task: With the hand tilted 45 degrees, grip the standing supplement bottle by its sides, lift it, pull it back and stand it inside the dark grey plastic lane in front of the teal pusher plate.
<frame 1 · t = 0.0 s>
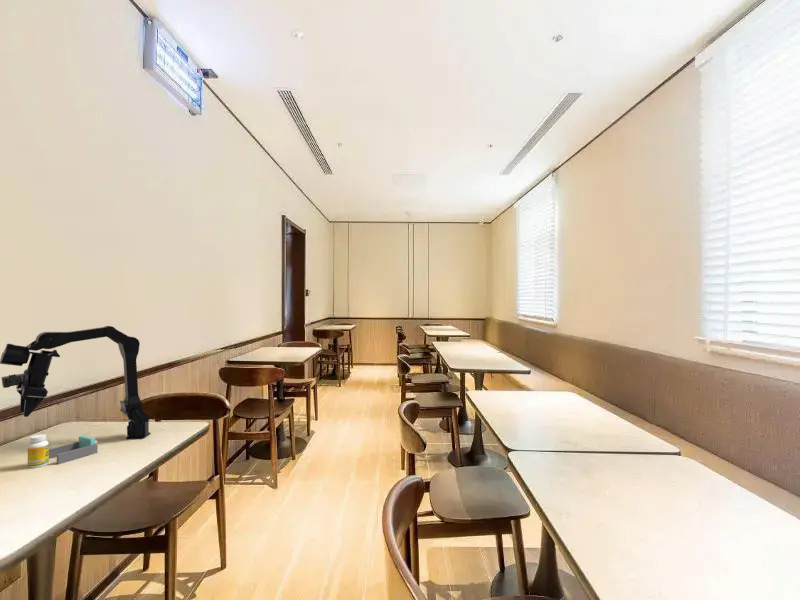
hand: (23, 414, 148), 15 cm above the table, tool pointing down, fingers open, 9 cm apart
supplement bottle: (38, 466, 144), on the table
lane: (70, 456, 152), on the table
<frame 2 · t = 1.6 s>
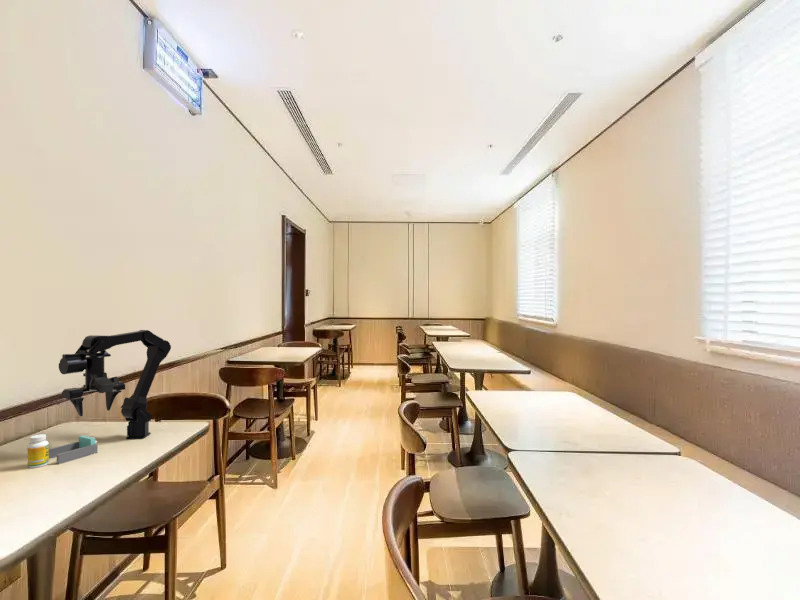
hand: (95, 413, 159), 13 cm above the table, tool pointing down, fingers open, 9 cm apart
nothing on the table moved.
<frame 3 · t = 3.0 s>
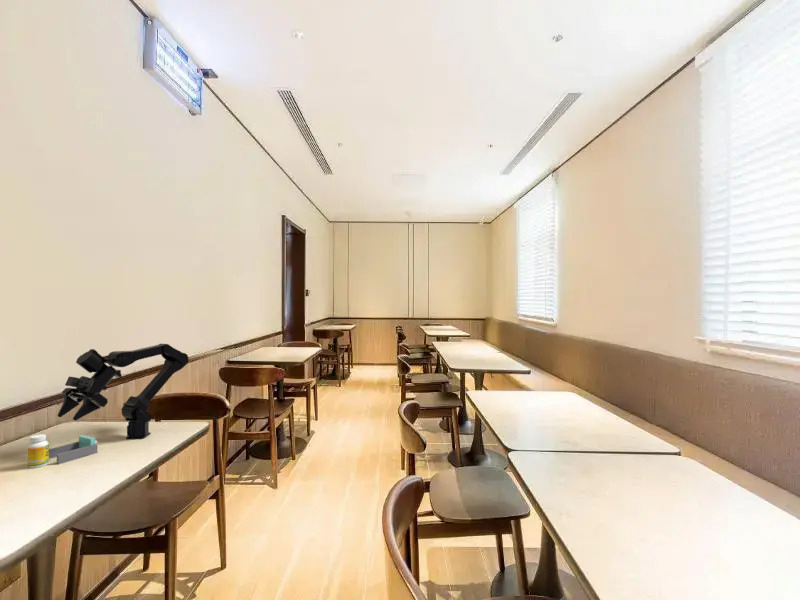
hand: (66, 418, 151), 13 cm above the table, tool tilted 45°, fingers open, 9 cm apart
nothing on the table moved.
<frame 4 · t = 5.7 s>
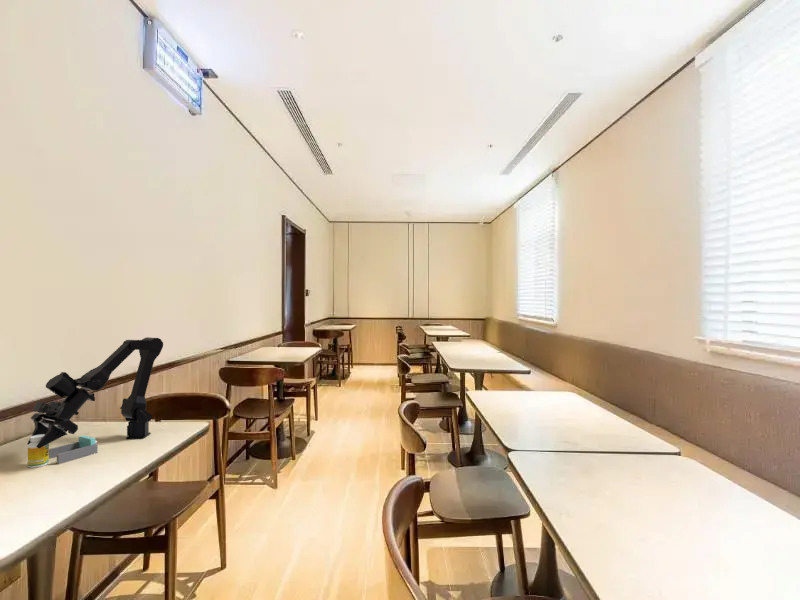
hand: (33, 446, 142), 7 cm above the table, tool tilted 45°, fingers closed on supplement bottle, 5 cm apart
supplement bottle: (38, 465, 144), on the table, touching gripper
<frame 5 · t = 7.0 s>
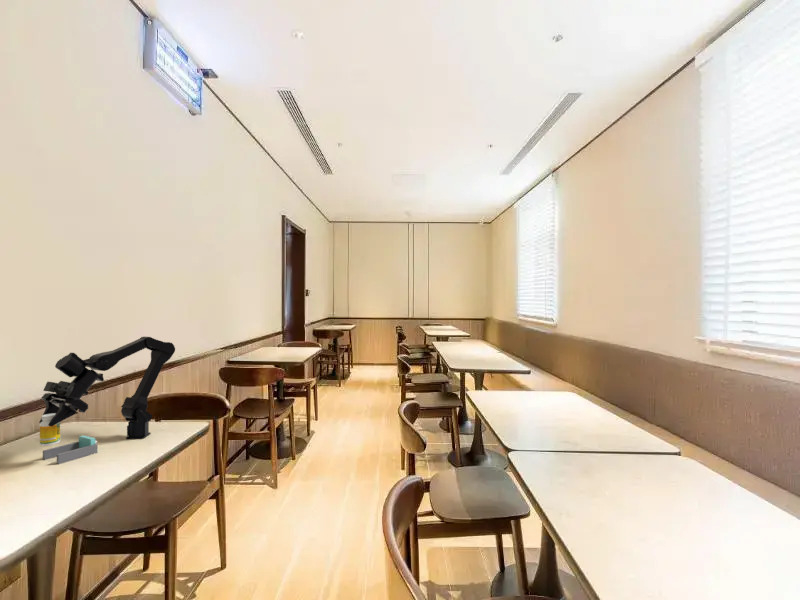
hand: (45, 424, 145), 13 cm above the table, tool tilted 45°, fingers closed on supplement bottle, 5 cm apart
supplement bottle: (50, 443, 147), point 6 cm above the table, touching gripper
when the fingers open (8 cm above the table, at t = 8.7 s): supplement bottle drops 1 cm, resting in lane.
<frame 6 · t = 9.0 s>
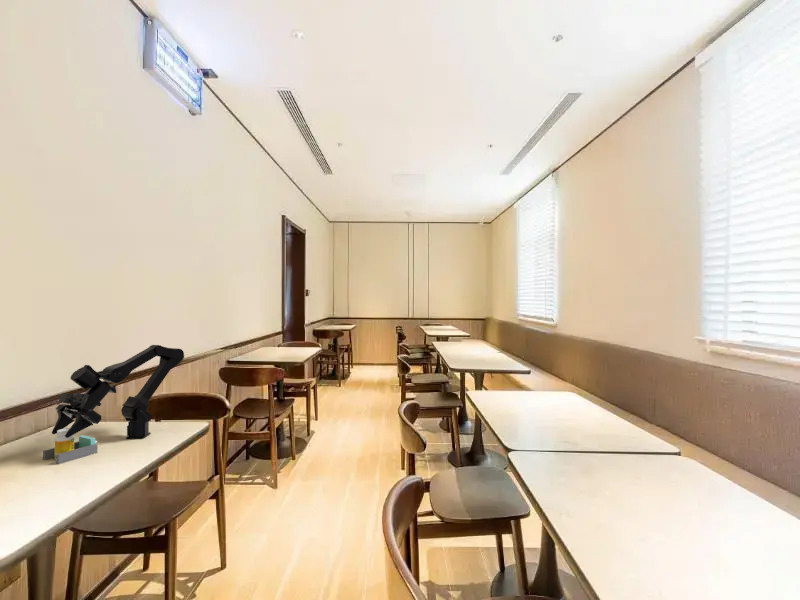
hand: (59, 435, 149), 8 cm above the table, tool tilted 45°, fingers open, 8 cm apart
supplement bottle: (64, 458, 150), resting in lane
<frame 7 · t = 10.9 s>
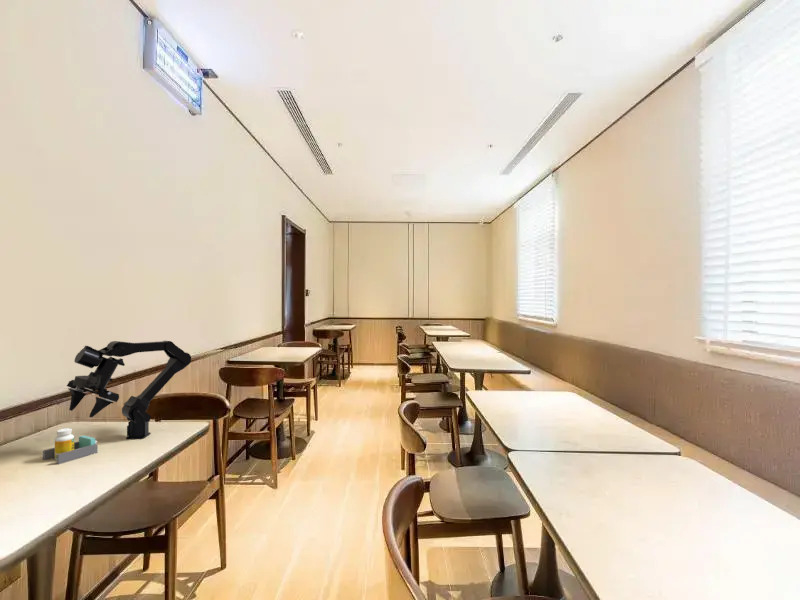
hand: (80, 413, 158), 13 cm above the table, tool tilted 30°, fingers open, 9 cm apart
nothing on the table moved.
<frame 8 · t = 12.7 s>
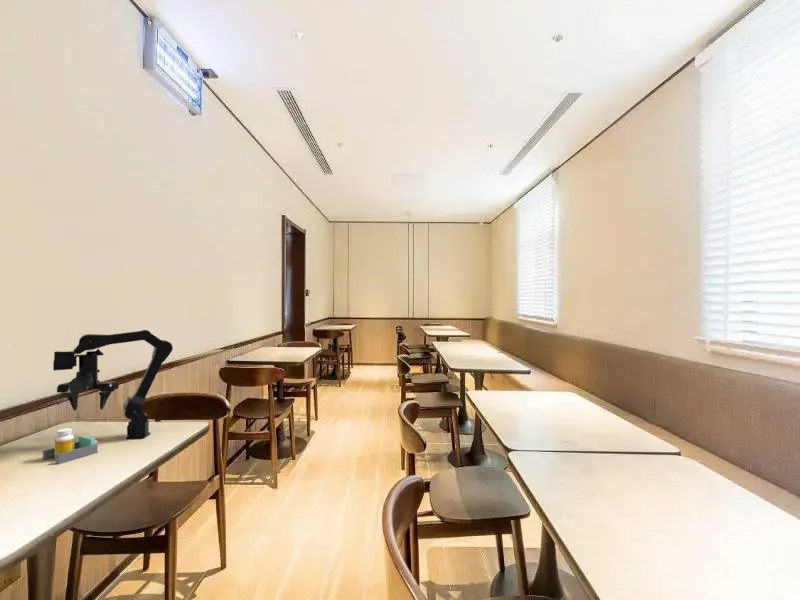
hand: (88, 409, 164), 13 cm above the table, tool pointing down, fingers open, 9 cm apart
nothing on the table moved.
at the end: supplement bottle 1.8 cm from the lane (horizontally); supplement bottle tilted 0°; the gripper is holding nothing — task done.
